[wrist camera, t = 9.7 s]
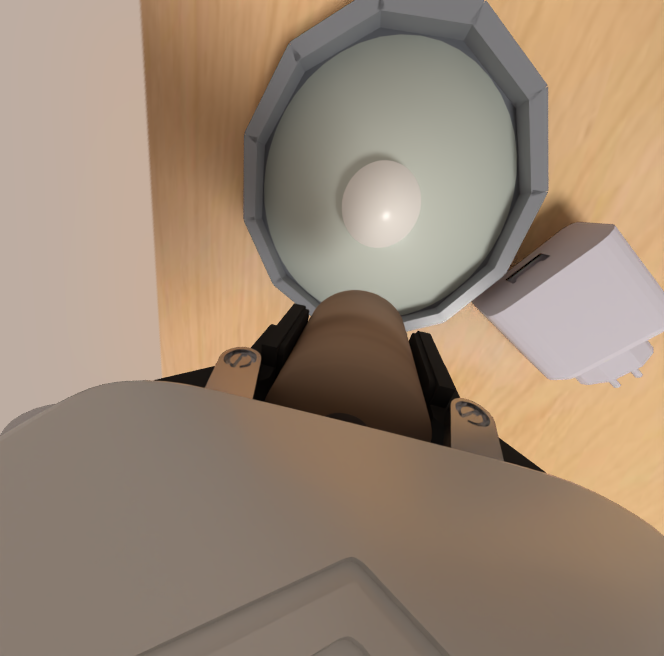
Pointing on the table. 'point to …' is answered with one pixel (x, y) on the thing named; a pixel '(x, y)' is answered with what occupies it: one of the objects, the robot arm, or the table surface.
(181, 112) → the table surface
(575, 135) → the table surface
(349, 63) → the tray
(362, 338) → the bead
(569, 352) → the charger
